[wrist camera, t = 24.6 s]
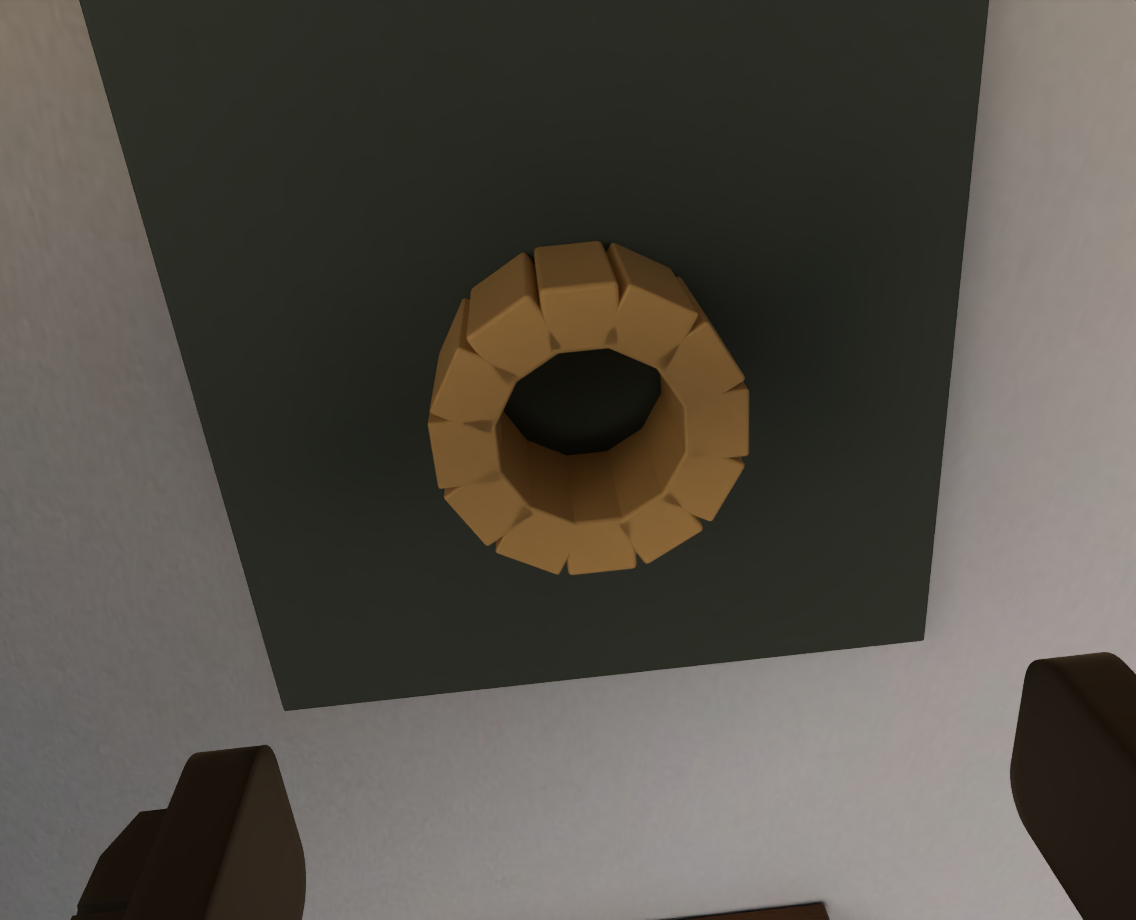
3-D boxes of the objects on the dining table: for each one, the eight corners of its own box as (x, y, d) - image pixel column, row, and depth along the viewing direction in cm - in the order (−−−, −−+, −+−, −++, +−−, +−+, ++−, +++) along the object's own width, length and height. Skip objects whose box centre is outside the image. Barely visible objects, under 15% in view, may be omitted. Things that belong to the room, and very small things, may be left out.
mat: (288, 695, 24) (283, 712, 23) (89, -10, 17) (75, -10, 16) (914, 627, 24) (924, 641, 24) (984, -98, 17) (1000, -100, 16)
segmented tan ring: (461, 513, 21) (455, 589, 18) (420, 257, 19) (406, 303, 16) (718, 485, 21) (749, 557, 19) (714, 227, 19) (750, 267, 16)
